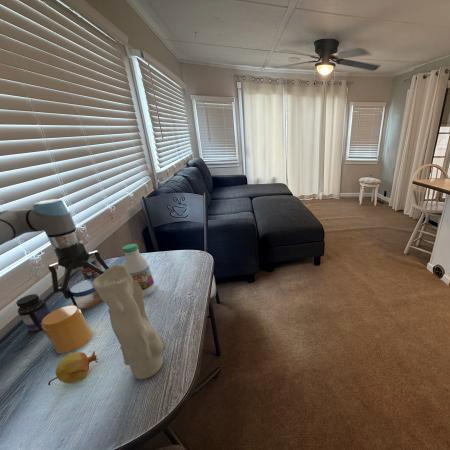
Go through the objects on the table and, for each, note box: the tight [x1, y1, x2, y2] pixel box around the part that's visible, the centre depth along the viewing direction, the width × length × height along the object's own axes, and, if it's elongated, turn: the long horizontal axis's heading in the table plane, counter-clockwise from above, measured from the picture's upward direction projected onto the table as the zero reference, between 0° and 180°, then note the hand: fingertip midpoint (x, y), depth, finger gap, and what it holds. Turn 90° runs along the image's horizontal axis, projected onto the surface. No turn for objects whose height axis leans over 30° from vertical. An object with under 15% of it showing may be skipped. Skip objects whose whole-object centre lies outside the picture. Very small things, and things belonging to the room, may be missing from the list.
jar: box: [42, 305, 93, 354], centre depth 71 cm, size 8×8×10 cm
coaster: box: [70, 291, 104, 311], centre depth 91 cm, size 12×12×1 cm
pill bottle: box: [15, 293, 52, 333], centre depth 77 cm, size 6×6×11 cm
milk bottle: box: [122, 243, 156, 297], centre depth 91 cm, size 8×8×20 cm
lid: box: [69, 278, 96, 298], centre depth 89 cm, size 9×9×2 cm
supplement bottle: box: [80, 258, 103, 280], centre depth 98 cm, size 6×6×11 cm
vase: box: [92, 264, 167, 380], centre depth 58 cm, size 9×8×30 cm
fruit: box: [47, 351, 99, 386], centre depth 61 cm, size 7×7×10 cm
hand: (91, 296), depth 91 cm, fingers closed on lid, 9 cm apart
